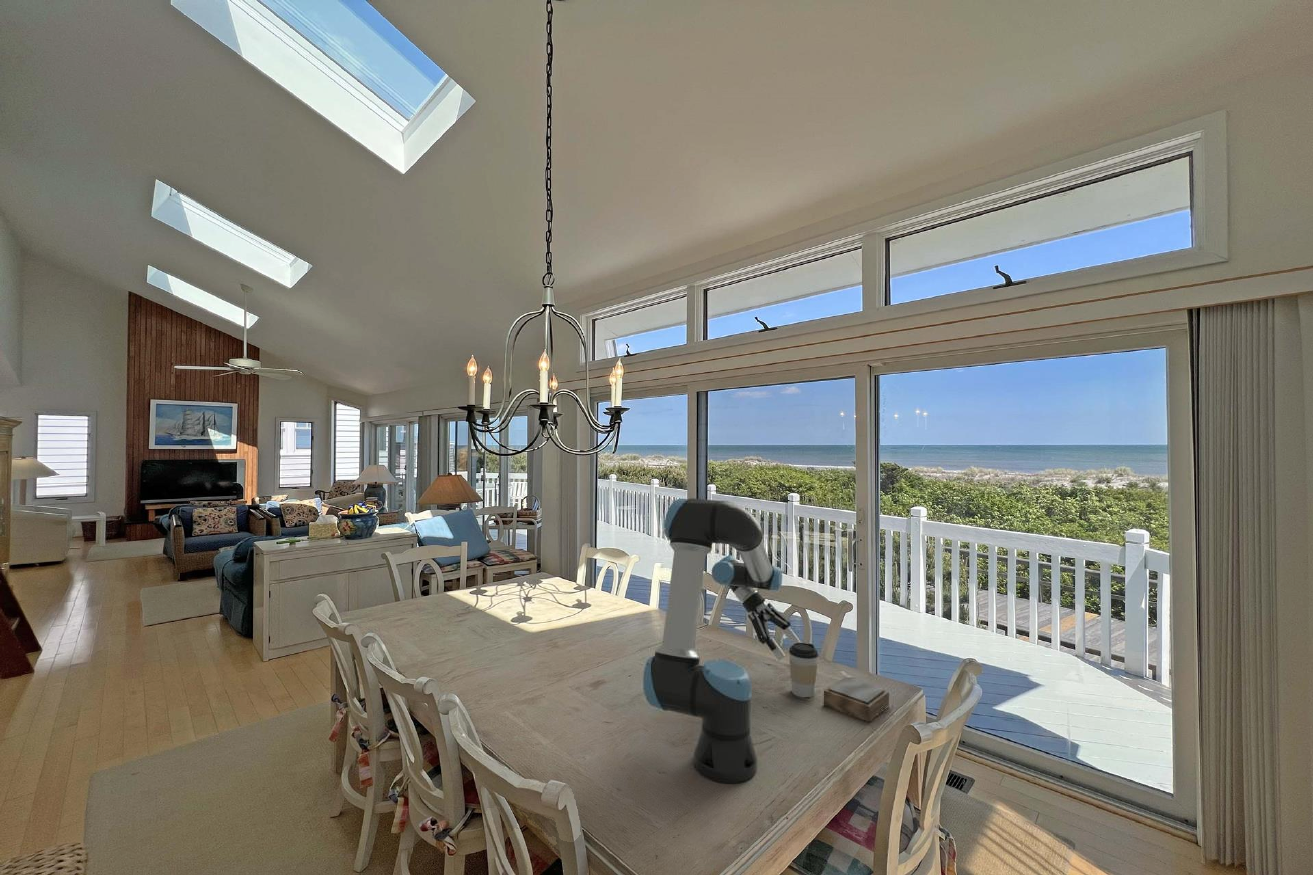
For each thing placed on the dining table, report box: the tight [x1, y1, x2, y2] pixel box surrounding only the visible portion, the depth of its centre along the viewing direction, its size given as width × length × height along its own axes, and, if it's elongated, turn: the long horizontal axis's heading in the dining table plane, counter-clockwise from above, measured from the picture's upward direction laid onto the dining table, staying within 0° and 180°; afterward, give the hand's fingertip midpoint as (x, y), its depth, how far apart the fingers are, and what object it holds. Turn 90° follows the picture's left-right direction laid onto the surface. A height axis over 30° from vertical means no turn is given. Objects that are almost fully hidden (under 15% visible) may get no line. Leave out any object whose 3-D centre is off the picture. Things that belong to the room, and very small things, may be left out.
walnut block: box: [823, 676, 890, 722], centre depth 162 cm, size 14×14×5 cm
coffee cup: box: [788, 642, 819, 698], centre depth 170 cm, size 9×9×15 cm
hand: (790, 651), depth 173 cm, fingers open, 13 cm apart
